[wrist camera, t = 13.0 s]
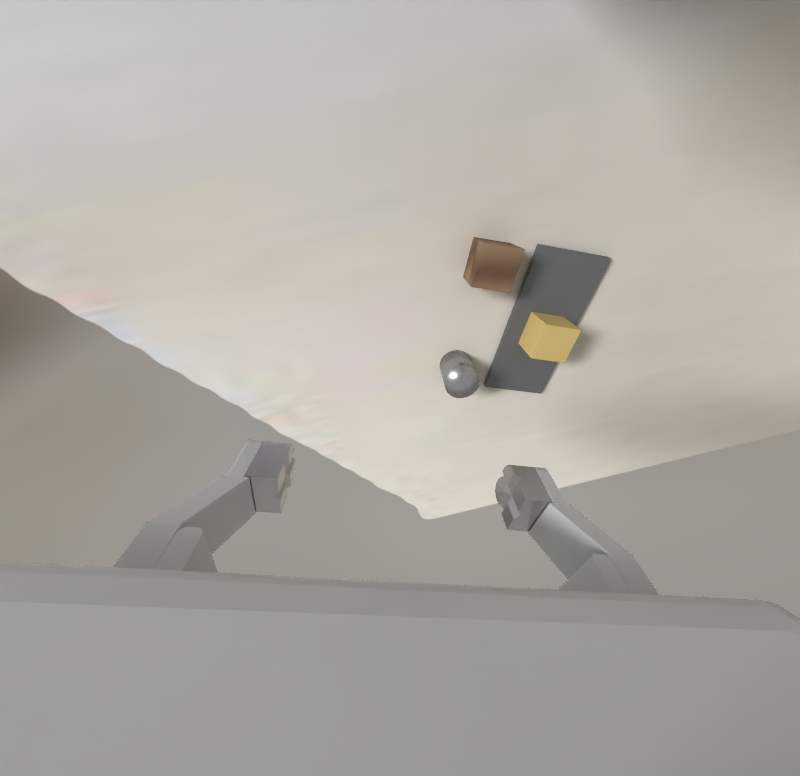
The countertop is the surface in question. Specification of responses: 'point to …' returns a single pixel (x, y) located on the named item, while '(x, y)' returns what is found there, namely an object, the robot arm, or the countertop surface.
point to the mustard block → (548, 337)
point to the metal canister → (459, 374)
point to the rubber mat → (544, 312)
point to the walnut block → (492, 264)
